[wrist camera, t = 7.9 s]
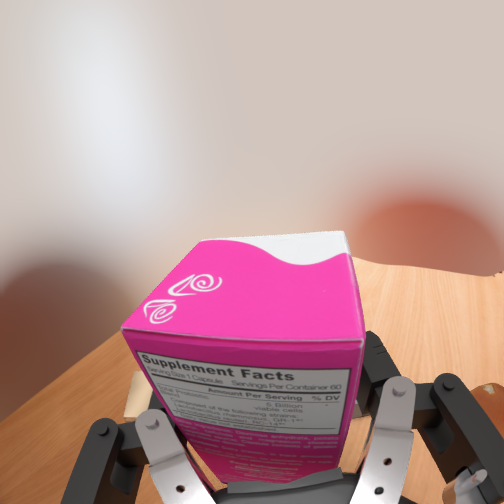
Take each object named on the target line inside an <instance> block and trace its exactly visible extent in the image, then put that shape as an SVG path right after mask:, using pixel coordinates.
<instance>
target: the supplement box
mask: <svg viewBox="0 0 504 504" xmlns="http://www.w3.org/2000/svg"><path fill="white" fill-rule="evenodd" d="M121 332H122V334H123V336H124V338H125V340H126V342H127V344H128V346H129V348H130V350H131V352H132V353H133V355H134V357H135V359H136V361H137V363H138V364H139V366H140V368H141V370H142V371H143V373H144V375H145V377H146V379H147V380H148V382H149V384H150V385H151V387H152V389H153V390H154V392H155V394H156V395H157V397H158V398H159V400H160V401H161V403H162V404H163V406H164V407H165V409H166V411H167V413H168V414H169V415H170V417H171V418H172V420H173V421H174V423H175V424H176V425H177V427H178V428H179V430H180V431H181V432H182V434H183V435H184V436H185V438H186V439H187V440H188V442H189V443H190V444H191V446H192V447H193V448H194V450H195V451H196V452H197V453H198V455H199V456H200V457H201V459H202V460H203V461H204V462H205V464H206V465H207V466H208V467H209V468H210V470H211V471H212V472H213V473H214V474H215V475H216V477H217V478H218V479H219V480H220V481H221V482H222V483H224V484H228V482H242V481H262V482H270V483H280V484H285V483H289V482H292V481H295V480H297V479H300V478H302V477H305V476H307V475H310V474H312V473H316V472H321V471H326V470H330V469H335V468H338V464H339V461H340V458H341V455H342V451H343V448H344V444H345V441H346V438H347V434H348V430H349V426H350V422H351V418H352V414H353V410H354V405H355V401H356V396H357V391H358V386H359V381H360V376H361V370H362V363H363V356H364V349H365V341H366V331H365V323H364V316H363V310H362V304H361V298H360V293H359V286H358V282H357V278H356V274H355V269H354V265H353V261H352V257H351V253H350V249H349V245H348V241H347V237H346V235H345V232H343V231H327V232H313V233H299V234H288V235H287V234H286V235H272V236H253V237H232V238H215V239H203V240H201V241H200V242H199V243H198V244H197V245H196V246H195V247H194V248H193V249H192V250H191V251H190V252H189V253H188V254H187V255H186V257H185V258H184V259H183V260H182V261H181V262H180V263H179V264H178V265H177V266H176V267H175V268H174V269H173V270H172V271H171V272H170V273H169V274H168V276H167V277H166V278H165V279H164V280H163V281H162V282H161V283H160V284H159V285H158V286H157V287H156V288H155V289H154V291H153V292H152V293H151V294H150V295H149V296H148V297H147V298H146V299H145V300H144V302H143V303H142V304H141V305H140V306H139V307H138V308H137V309H136V310H135V311H134V312H133V314H132V315H131V316H130V317H129V318H128V319H127V320H126V321H125V322H124V323H123V325H122V326H121Z"/></svg>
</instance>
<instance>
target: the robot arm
mask: <svg viewBox="0 0 504 504" xmlns="http://www.w3.org/2000/svg"><path fill="white" fill-rule="evenodd" d="M356 400H357V402H358V405H359V408H360V410H361V413H362V415H365V414H369V413H370V415H371V417H372V420H371V423H370V427H369V430H368V434H367V437H366V441H365V444H364V447H363V450H362V453H361V456H360V459H359V461H358V464H357V466H356V469H355V472H354V473H347V472H342V471H341V467H339V468H335V469H330V470H326V471H321V472H316V473H312V474H310V475H307V476H305V477H302V478H300V479H297V480H295V481H292V482H289V483H285V484H280V483H270V482H262V481H242V482H228V488H224V489H221V490H218V491H216V490H215V488H214V487H213V485H212V484H211V483H210V481H209V480H208V479H207V477H206V476H205V474H204V473H203V471H202V470H201V468H200V466H199V465H198V463H197V461H196V460H195V458H194V456H193V455H192V453H191V451H190V450H189V448H188V446H187V439H186V438H185V436H184V435H183V434H182V432H181V431H180V430H179V428H178V427H177V425H176V424H175V423H174V421H173V420H172V418H171V417H170V415H169V414H168V413H167V411H166V409H165V407H164V406H163V404H162V403H161V401H160V400H159V398H158V397H157V395H156V394H155V392H154V390H153V391H152V395H151V398H150V402H149V406H148V409H147V410H146V411H144V412H142V413H141V414H140V415H139V416H138V417H137V419H136V421H133V422H128V423H123V424H118V425H117V424H116V423H115V421H113V420H112V419H109V418H102V419H99V420H97V421H96V422H94V423H93V425H92V426H91V428H90V430H89V432H88V435H87V437H86V439H85V442H84V444H83V446H82V449H81V451H80V454H79V456H78V458H77V461H76V463H75V466H74V468H73V471H72V474H71V476H70V479H69V481H68V484H67V487H66V490H65V492H64V495H63V498H62V501H61V504H135V500H136V496H137V492H138V488H139V484H140V480H141V477H142V473H143V469H144V466H145V464H150V466H149V472H150V475H151V477H152V479H153V481H154V483H155V486H156V488H157V490H158V492H159V494H160V496H161V498H162V500H163V502H164V504H417V503H415V502H413V501H411V500H409V499H407V498H405V497H403V496H401V492H402V488H403V485H404V481H405V477H406V473H407V469H408V464H409V460H410V455H411V450H412V444H413V438H414V433H413V432H411V429H417V430H418V432H419V433H420V435H421V437H422V439H423V440H424V442H425V444H426V446H427V448H428V450H429V451H430V453H431V455H432V457H433V459H434V461H435V462H436V464H437V466H438V468H439V470H440V472H441V474H442V476H443V478H444V480H445V482H446V484H447V485H446V487H445V488H444V490H443V494H442V499H443V503H444V504H501V503H502V502H504V439H503V437H502V436H501V434H500V433H499V431H498V430H497V428H496V427H495V425H494V424H493V423H492V421H491V420H490V418H489V417H488V415H487V414H486V413H485V411H484V410H483V408H482V407H481V406H480V404H479V403H478V402H477V400H476V399H475V398H474V396H473V395H472V394H471V392H470V391H469V390H468V389H467V387H466V386H465V385H464V383H463V382H462V381H461V380H460V378H459V377H457V376H456V375H454V374H451V373H444V374H441V375H439V376H438V377H437V378H436V379H435V381H434V383H423V384H416V383H413V381H412V380H410V379H409V378H407V377H403V376H401V374H400V372H399V371H398V369H397V367H396V365H395V364H394V362H393V360H392V358H391V357H390V355H389V353H388V352H387V350H386V348H385V347H384V346H383V343H382V342H381V340H380V338H379V337H378V336H377V335H376V334H374V333H373V332H371V331H367V332H366V341H365V349H364V356H363V363H362V370H361V376H360V381H359V386H358V391H357V396H356Z"/></svg>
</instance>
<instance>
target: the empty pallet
mask: <svg viewBox="0 0 504 504" xmlns="http://www.w3.org/2000/svg"><path fill="white" fill-rule="evenodd" d="M152 391H153V389H152V387H151V385H150V384H149V382H148V380H147V379H146V377H145V375H144V373H143V371H134V374H133V378H132V382H131V386H130V391H129V395H128V399H127V404H126V408H125V413H124V418H125V421H126V422H127V423H128V422H133V421H136V419H137V417H138V416H139V415H140V414H141V413H142V412H144V411H146V410H147V409H148V406H149V402H150V398H151V395H152Z"/></svg>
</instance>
